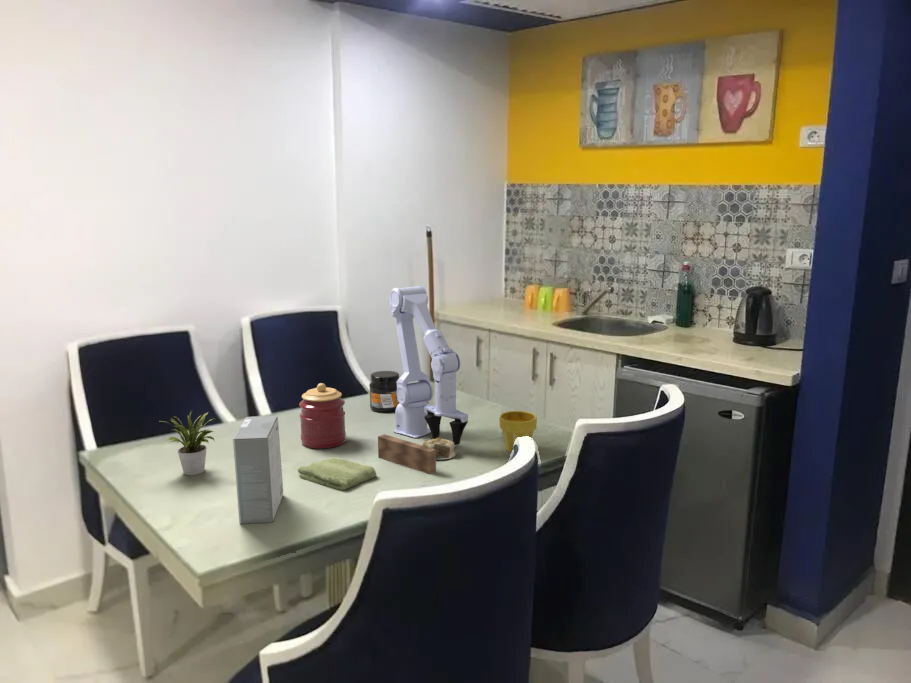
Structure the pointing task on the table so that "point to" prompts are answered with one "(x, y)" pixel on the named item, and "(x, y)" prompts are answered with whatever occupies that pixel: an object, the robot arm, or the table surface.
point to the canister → (322, 418)
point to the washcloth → (337, 473)
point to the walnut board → (407, 453)
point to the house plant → (192, 446)
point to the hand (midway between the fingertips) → (446, 441)
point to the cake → (441, 447)
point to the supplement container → (384, 391)
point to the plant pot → (516, 426)
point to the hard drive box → (258, 469)
